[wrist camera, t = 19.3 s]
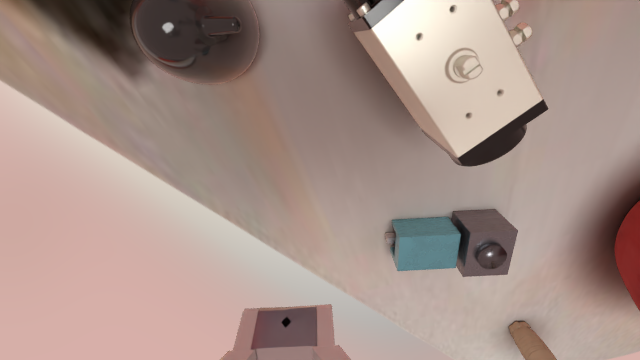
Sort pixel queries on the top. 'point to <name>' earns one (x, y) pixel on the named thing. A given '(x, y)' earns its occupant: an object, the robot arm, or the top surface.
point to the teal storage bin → (425, 244)
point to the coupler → (481, 242)
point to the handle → (529, 342)
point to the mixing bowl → (630, 252)
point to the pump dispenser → (197, 37)
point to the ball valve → (454, 70)
